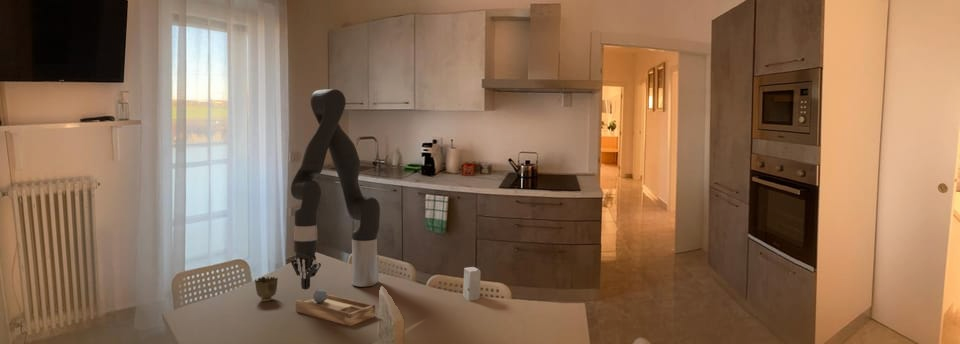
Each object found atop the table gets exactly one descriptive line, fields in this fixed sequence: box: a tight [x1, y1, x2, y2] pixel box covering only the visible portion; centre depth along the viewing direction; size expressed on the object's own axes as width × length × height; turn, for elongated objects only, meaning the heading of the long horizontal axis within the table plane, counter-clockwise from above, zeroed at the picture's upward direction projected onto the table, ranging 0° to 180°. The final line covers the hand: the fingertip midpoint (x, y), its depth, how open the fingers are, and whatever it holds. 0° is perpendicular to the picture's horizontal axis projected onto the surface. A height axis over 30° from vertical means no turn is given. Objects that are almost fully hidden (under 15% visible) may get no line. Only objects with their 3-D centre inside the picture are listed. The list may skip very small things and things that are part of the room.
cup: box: [254, 276, 279, 303], centre depth 190 cm, size 8×7×8 cm
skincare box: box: [462, 266, 482, 302], centre depth 192 cm, size 6×4×12 cm
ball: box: [312, 289, 328, 303], centre depth 181 cm, size 4×4×4 cm
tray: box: [295, 293, 376, 327], centre depth 178 cm, size 11×25×4 cm, turn 58°
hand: (305, 288), depth 185 cm, fingers closed
